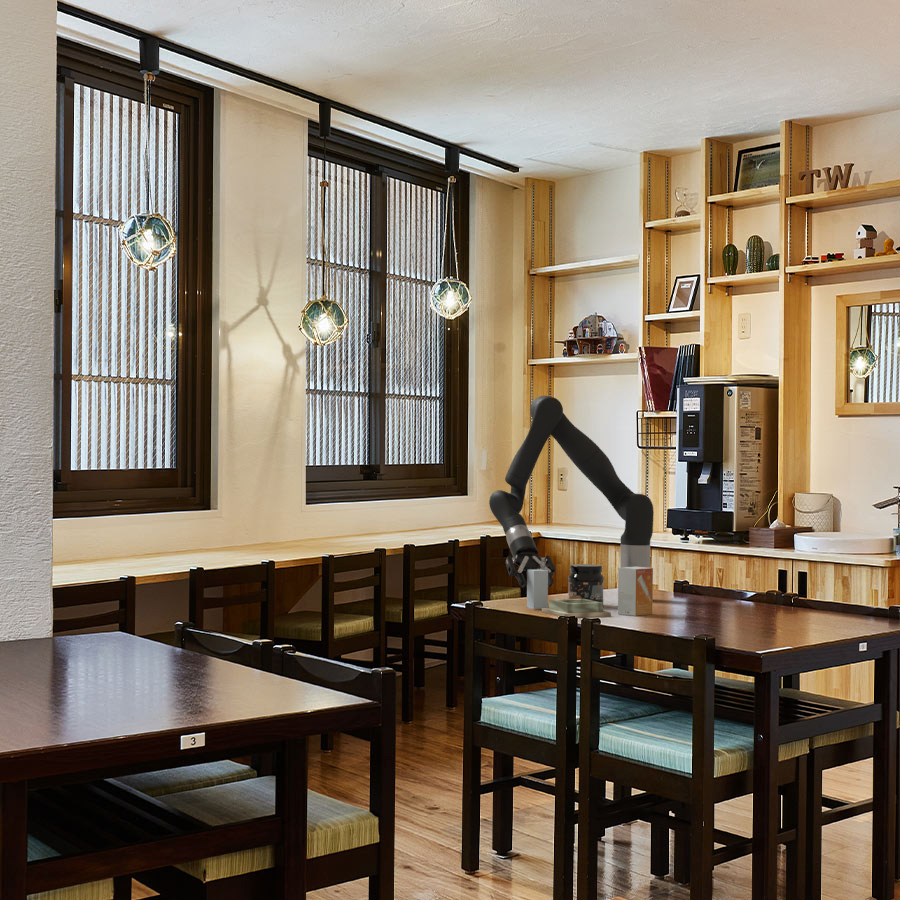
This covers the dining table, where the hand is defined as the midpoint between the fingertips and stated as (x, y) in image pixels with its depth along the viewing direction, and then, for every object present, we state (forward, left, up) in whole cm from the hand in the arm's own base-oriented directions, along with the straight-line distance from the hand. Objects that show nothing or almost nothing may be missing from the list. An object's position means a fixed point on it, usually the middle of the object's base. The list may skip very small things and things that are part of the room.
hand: (537, 585), depth 316 cm
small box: (-20, +21, -7) cm, 30 cm away
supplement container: (-17, -2, -7) cm, 19 cm away
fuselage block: (0, 0, -7) cm, 7 cm away
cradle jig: (-4, +16, -7) cm, 17 cm away
